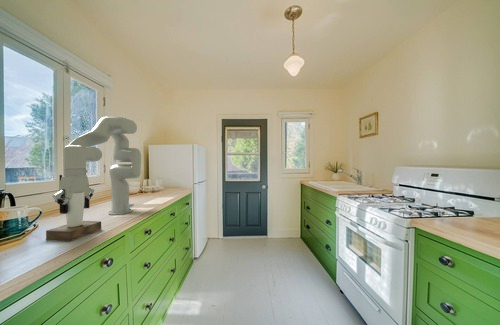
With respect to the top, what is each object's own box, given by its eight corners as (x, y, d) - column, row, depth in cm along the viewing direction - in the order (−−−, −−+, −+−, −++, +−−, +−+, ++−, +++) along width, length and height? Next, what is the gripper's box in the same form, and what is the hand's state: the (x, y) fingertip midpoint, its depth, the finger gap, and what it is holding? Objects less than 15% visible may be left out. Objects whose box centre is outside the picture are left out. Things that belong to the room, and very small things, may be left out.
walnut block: (79, 228, 95) (79, 220, 95) (101, 229, 93) (101, 221, 93) (46, 240, 81) (46, 230, 81) (70, 241, 80) (70, 231, 80)
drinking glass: (72, 228, 83) (72, 193, 83) (60, 228, 84) (60, 193, 84) (88, 224, 89) (88, 191, 90) (76, 223, 91) (76, 191, 91)
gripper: (86, 172, 96) (86, 206, 96) (45, 174, 79) (45, 215, 79) (99, 172, 95) (100, 206, 95) (61, 174, 78) (61, 216, 78)
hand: (75, 210), depth 87 cm, fingers open, 9 cm apart
